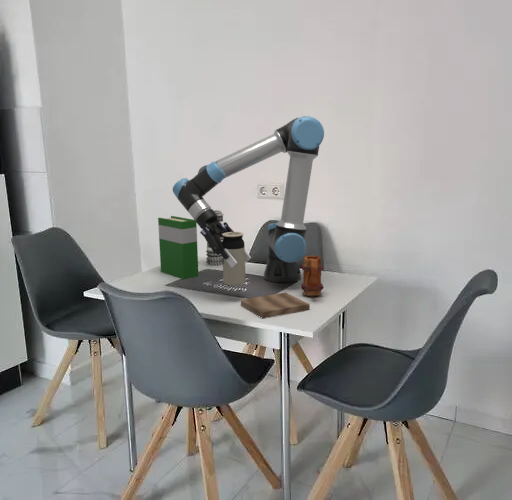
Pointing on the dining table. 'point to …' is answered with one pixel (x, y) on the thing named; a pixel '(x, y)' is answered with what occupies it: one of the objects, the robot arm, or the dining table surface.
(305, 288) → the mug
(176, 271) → the hardback book
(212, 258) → the decorative candle
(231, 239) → the travel mug
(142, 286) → the dining table surface
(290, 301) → the walnut board
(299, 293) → the dining table surface
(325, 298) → the dining table surface
